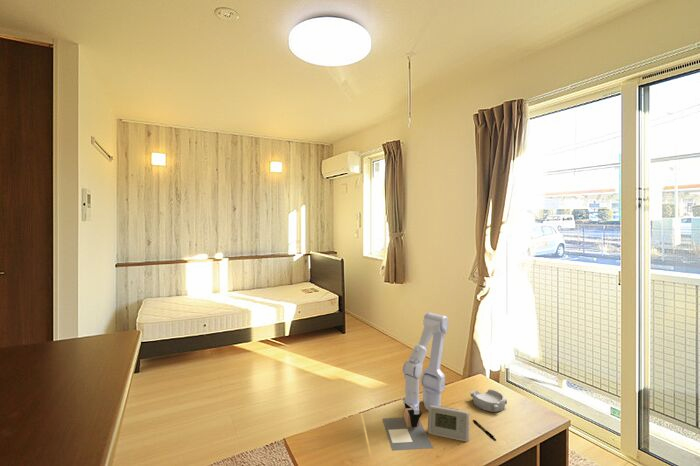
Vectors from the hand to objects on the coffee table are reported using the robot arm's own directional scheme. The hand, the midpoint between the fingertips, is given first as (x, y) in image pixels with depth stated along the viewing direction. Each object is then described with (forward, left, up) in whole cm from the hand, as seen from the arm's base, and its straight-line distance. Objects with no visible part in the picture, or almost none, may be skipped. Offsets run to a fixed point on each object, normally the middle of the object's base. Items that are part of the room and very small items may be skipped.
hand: (411, 421), depth 141 cm
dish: (-12, +41, -2) cm, 43 cm away
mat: (+6, -4, -2) cm, 7 cm away
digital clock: (+8, +13, -2) cm, 15 cm away
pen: (+6, +29, -2) cm, 30 cm away
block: (0, 0, -1) cm, 1 cm away
